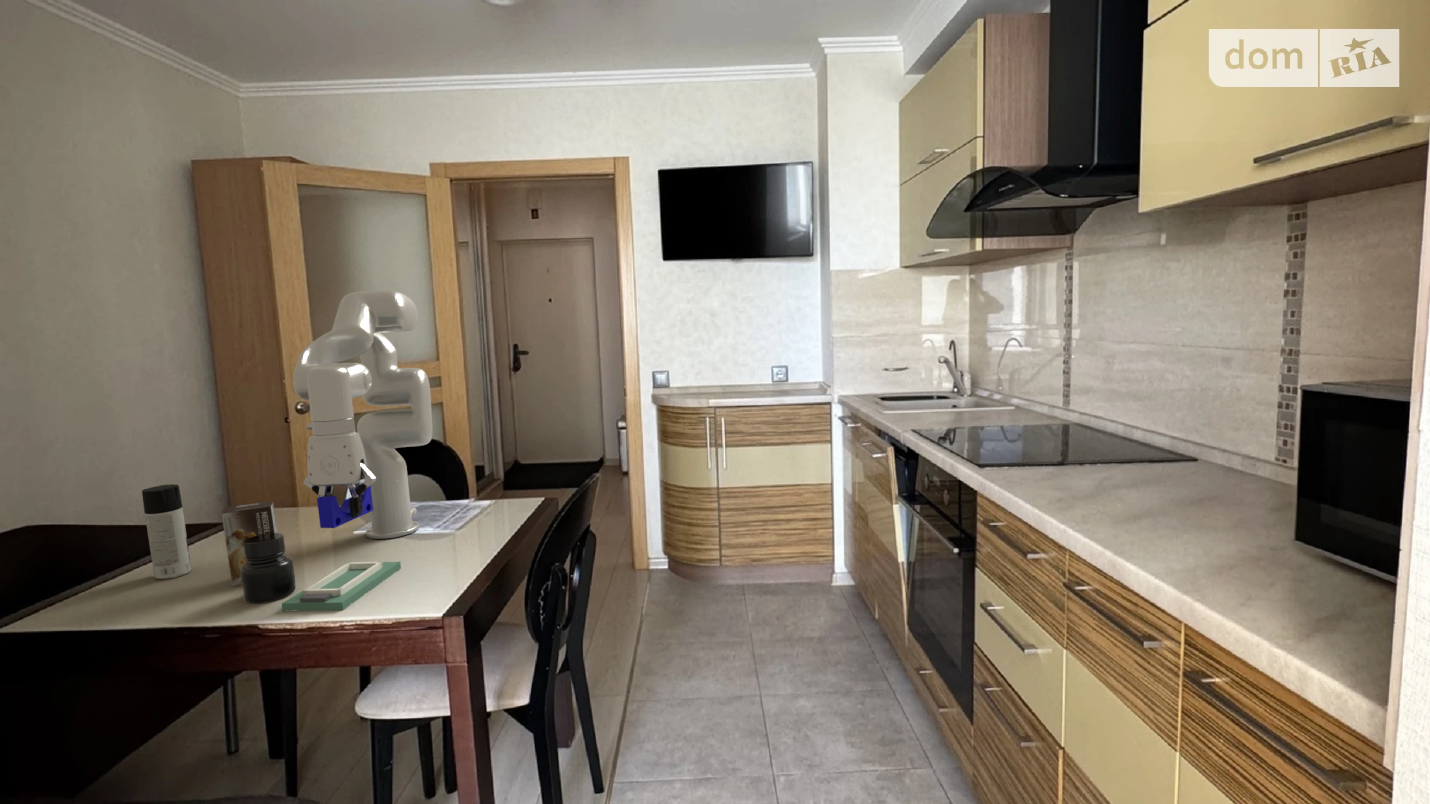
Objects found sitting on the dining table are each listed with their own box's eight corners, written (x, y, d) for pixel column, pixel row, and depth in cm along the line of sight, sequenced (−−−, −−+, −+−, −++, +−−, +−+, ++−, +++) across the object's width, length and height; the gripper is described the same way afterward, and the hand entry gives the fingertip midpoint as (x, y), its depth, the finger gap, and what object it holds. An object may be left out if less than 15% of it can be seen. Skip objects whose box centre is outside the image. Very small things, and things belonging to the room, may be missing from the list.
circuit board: (348, 569, 155) (347, 557, 155) (400, 568, 155) (399, 556, 154) (282, 611, 134) (280, 597, 133) (343, 610, 133) (341, 596, 132)
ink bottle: (302, 583, 148) (296, 528, 146) (292, 599, 139) (285, 541, 138) (249, 591, 145) (242, 535, 143) (235, 607, 136) (227, 548, 135)
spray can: (198, 570, 159) (187, 484, 156) (167, 581, 152) (154, 491, 150) (178, 568, 161) (166, 483, 158) (146, 578, 155) (133, 490, 152)
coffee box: (283, 569, 157) (275, 499, 155) (281, 578, 152) (272, 505, 150) (234, 577, 153) (225, 506, 151) (230, 587, 147) (220, 513, 145)
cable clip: (354, 510, 149) (351, 482, 149) (373, 510, 149) (370, 482, 148) (313, 527, 138) (310, 498, 137) (334, 528, 137) (330, 498, 136)
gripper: (280, 432, 137) (291, 522, 139) (365, 429, 136) (374, 520, 139) (304, 426, 144) (314, 512, 147) (384, 423, 144) (393, 509, 146)
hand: (343, 515), depth 143 cm, fingers closed on cable clip, 4 cm apart
